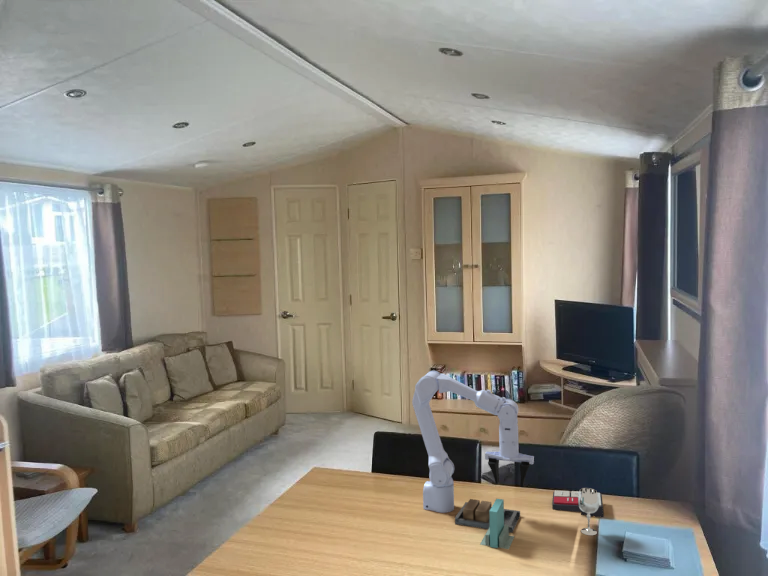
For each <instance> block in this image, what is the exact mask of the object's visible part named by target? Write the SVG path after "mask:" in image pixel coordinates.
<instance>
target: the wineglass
mask: <svg viewBox="0 0 768 576" xmlns="http://www.w3.org/2000/svg"><path fill="white" fill-rule="evenodd" d="M597 493H598V492H597V490H596V489H594V488H591V487H582V488H580V489H579V496H578V506H579V508H580V509H581V510H582V511H583V512H585V513H588V514H587V515H586V519H587V527H583V528H581V529H580V532H581V534H583V535H587V536H595V535H597V534H598V531H597V530H595V529H593V528H591V527H590V526H591V525H590V524H591V522H590V521H591V517H592V516H590V514H591V513H595V512H596V511H597V510H598V508H599V499H598V494H597Z"/></svg>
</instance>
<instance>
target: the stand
mask: <svg viewBox="0 0 768 576" xmlns="http://www.w3.org/2000/svg"><path fill="white" fill-rule="evenodd" d="M514 539H515V536H514V535H510V532H509V525H505V526H504V528H503V530H502V532H501V534H500V536H499V546H498V548H500V549H505V550H510V548H511V545H512V544H513V540H514ZM479 545H480V546H487V547H490V527H489V529H487V530H486V533H485V534H484V536H483V538H482V539H481V541H480V544H479ZM498 548H497V549H498Z"/></svg>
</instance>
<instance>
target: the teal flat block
mask: <svg viewBox="0 0 768 576" xmlns="http://www.w3.org/2000/svg"><path fill="white" fill-rule="evenodd" d="M504 502H505V500H504V499H503V498H496V499H495V500H494V502H493V504H492V507H491V509H490V511H489V515H490V546H489V547H490V548H495V549H498V546H499V536H500V534H501V532H502V530H503V528H504V509H505V508H504V507H505V505H504V504H505V503H504Z"/></svg>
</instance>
